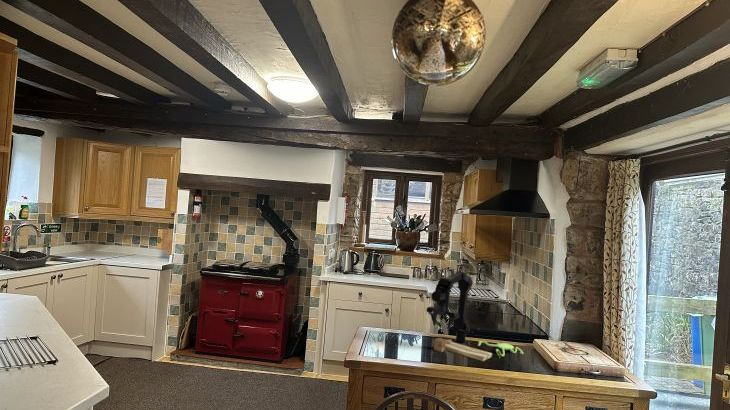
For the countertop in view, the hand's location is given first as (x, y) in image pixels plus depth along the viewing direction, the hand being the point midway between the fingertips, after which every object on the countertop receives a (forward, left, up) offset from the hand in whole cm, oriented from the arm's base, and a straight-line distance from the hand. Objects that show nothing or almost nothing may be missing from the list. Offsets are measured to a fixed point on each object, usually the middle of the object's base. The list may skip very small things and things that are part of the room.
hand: (441, 327), depth 272 cm
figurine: (-28, +25, -13) cm, 39 cm away
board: (-8, +12, -13) cm, 19 cm away
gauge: (-4, +1, -13) cm, 13 cm away
